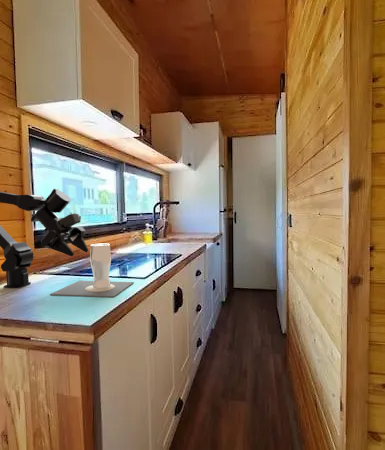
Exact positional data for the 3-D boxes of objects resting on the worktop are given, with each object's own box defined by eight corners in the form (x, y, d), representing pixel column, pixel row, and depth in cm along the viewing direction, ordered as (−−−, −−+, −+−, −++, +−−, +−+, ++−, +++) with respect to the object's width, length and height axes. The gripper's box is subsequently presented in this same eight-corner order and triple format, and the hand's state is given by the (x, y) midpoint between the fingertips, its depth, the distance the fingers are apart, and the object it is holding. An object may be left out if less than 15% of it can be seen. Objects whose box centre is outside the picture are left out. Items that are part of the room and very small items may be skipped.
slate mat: (50, 295, 99) (50, 293, 99) (79, 281, 117) (79, 280, 117) (114, 297, 96) (113, 295, 96) (133, 283, 114) (133, 281, 113)
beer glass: (96, 290, 102) (95, 246, 101) (87, 287, 107) (86, 244, 106) (115, 286, 107) (114, 244, 106) (106, 283, 112) (104, 242, 111)
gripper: (47, 205, 97) (80, 240, 96) (79, 205, 116) (107, 234, 114) (27, 230, 99) (58, 264, 98) (62, 226, 118) (88, 255, 116)
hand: (80, 253), depth 107 cm, fingers open, 9 cm apart
